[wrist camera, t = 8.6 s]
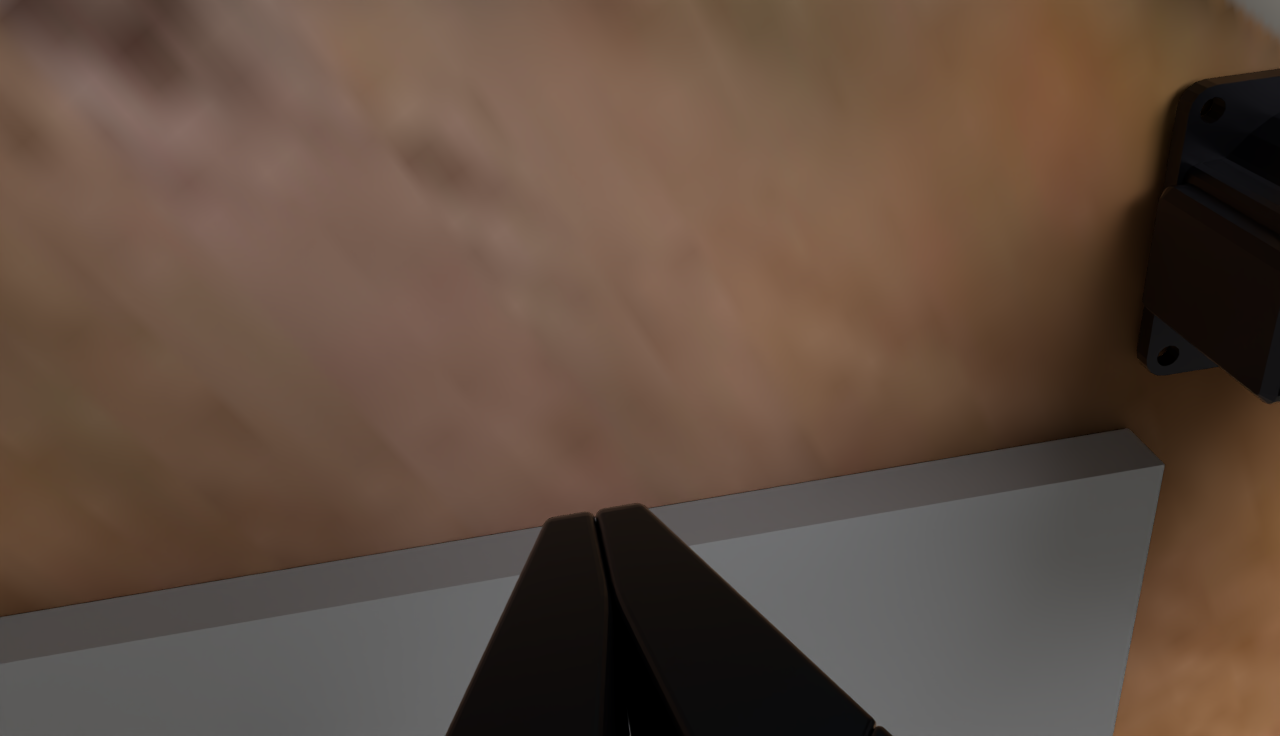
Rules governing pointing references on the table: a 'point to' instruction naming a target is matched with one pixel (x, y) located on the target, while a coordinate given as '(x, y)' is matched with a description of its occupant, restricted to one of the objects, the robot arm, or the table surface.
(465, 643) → the dial plate
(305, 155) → the table surface
